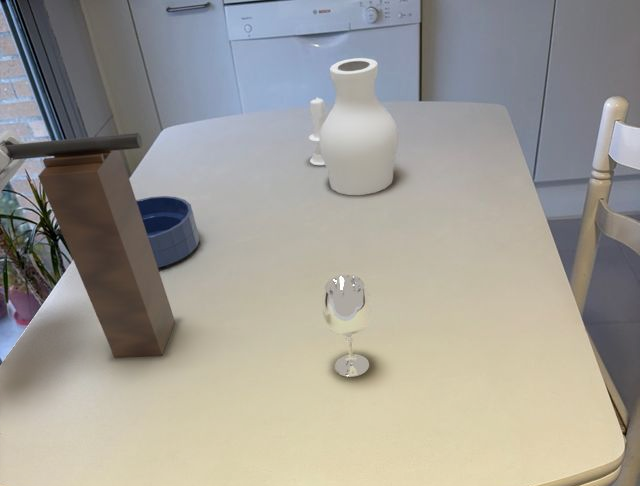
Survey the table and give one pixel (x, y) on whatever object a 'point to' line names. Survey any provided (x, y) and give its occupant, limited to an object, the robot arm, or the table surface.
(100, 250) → the stand
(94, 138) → the chopstick
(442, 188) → the table surface
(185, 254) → the bowl
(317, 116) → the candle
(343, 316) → the wineglass
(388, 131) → the vase
